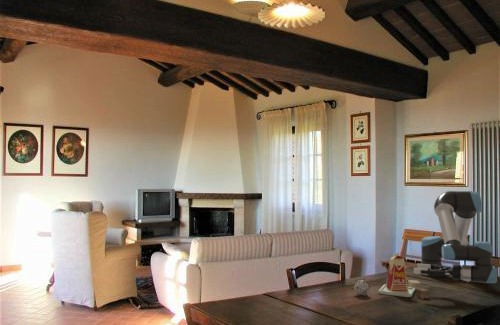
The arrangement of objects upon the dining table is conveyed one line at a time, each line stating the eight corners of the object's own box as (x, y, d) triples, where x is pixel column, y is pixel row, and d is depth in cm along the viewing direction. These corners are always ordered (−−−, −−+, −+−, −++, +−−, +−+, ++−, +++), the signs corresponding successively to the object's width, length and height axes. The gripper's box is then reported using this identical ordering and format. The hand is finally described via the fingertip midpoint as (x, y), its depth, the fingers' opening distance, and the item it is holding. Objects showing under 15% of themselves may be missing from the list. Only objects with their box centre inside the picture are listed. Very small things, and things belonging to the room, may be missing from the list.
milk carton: (408, 293, 231) (408, 253, 231) (390, 292, 231) (390, 253, 232) (403, 288, 240) (403, 251, 240) (385, 288, 240) (385, 250, 241)
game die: (364, 303, 226) (371, 290, 221) (348, 296, 228) (354, 283, 222) (367, 291, 234) (374, 278, 228) (351, 284, 235) (357, 271, 230)
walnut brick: (416, 296, 227) (416, 288, 227) (423, 296, 228) (423, 288, 228) (421, 298, 223) (421, 290, 223) (428, 298, 224) (428, 290, 224)
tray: (384, 287, 246) (384, 284, 246) (415, 290, 239) (415, 287, 239) (378, 293, 232) (378, 290, 232) (411, 297, 225) (411, 294, 225)
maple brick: (408, 287, 246) (408, 280, 246) (417, 288, 245) (417, 280, 245) (410, 289, 241) (410, 282, 241) (420, 290, 240) (420, 282, 240)
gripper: (460, 285, 211) (412, 280, 221) (462, 275, 233) (418, 271, 243) (460, 269, 211) (412, 264, 221) (462, 260, 233) (418, 257, 243)
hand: (415, 268), depth 232 cm, fingers open, 13 cm apart
